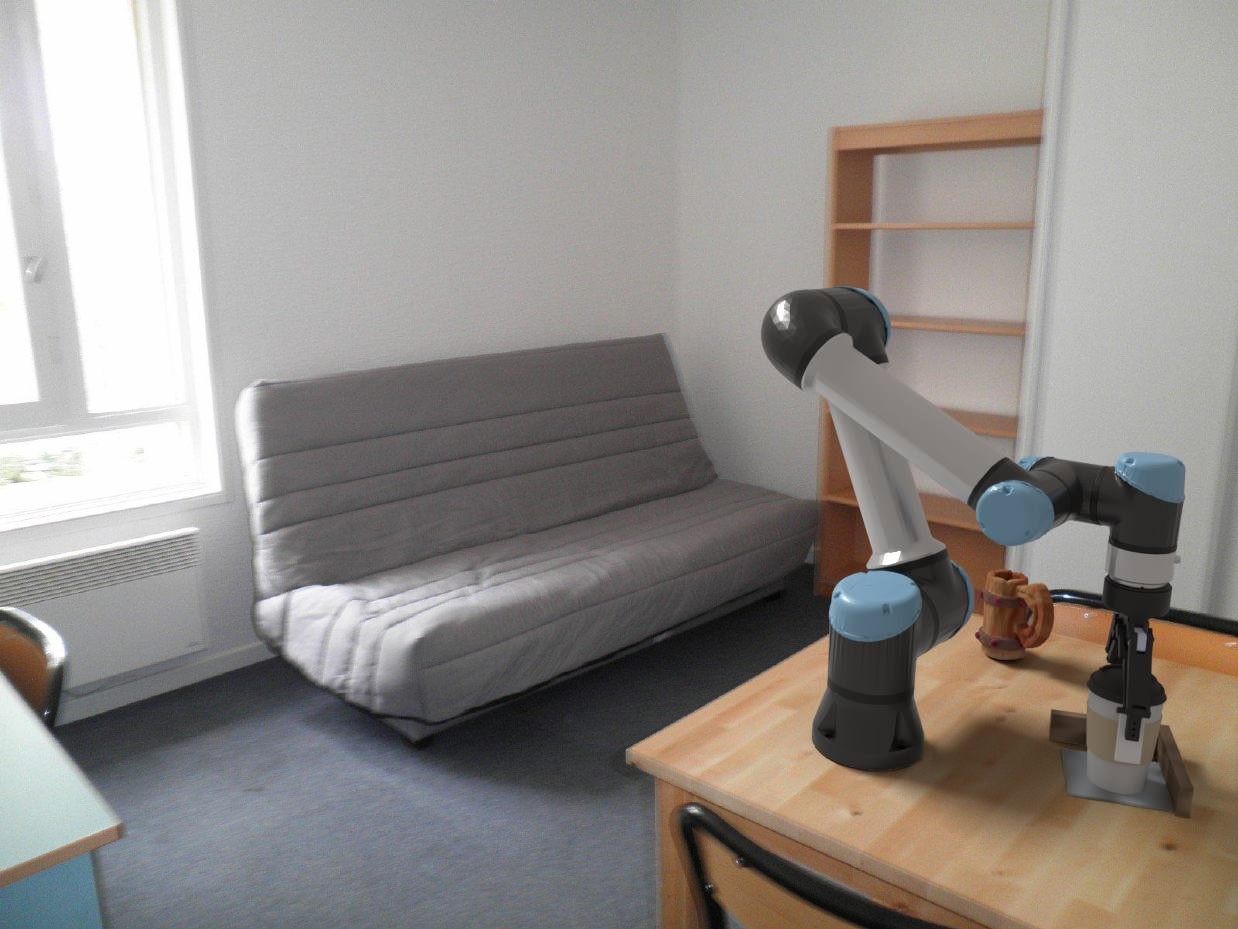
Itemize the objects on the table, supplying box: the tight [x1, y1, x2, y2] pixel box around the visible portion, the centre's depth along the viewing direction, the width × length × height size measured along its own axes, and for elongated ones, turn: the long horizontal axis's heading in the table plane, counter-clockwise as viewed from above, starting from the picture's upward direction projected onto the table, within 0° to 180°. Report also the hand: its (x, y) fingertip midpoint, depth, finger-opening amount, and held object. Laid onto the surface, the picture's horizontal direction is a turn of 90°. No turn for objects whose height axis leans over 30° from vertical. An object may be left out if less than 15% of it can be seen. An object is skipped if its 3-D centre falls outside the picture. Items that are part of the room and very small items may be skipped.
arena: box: [1048, 708, 1195, 819], centre depth 130 cm, size 15×17×4 cm
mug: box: [974, 568, 1055, 661], centre depth 164 cm, size 15×8×15 cm, turn 17°
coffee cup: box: [1086, 663, 1168, 795], centre depth 127 cm, size 9×9×15 cm
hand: (1119, 735), depth 128 cm, fingers open, 13 cm apart
